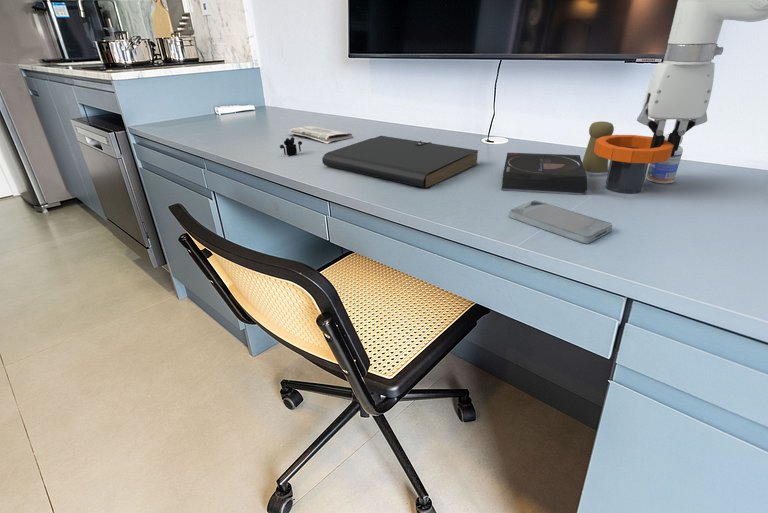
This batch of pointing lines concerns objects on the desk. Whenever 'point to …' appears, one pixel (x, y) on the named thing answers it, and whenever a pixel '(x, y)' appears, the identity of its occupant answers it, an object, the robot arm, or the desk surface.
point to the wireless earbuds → (290, 146)
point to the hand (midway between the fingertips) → (662, 153)
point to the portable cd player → (544, 173)
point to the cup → (626, 176)
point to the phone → (561, 221)
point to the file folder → (403, 160)
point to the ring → (632, 149)
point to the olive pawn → (590, 158)
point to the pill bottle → (665, 167)
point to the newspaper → (320, 133)
